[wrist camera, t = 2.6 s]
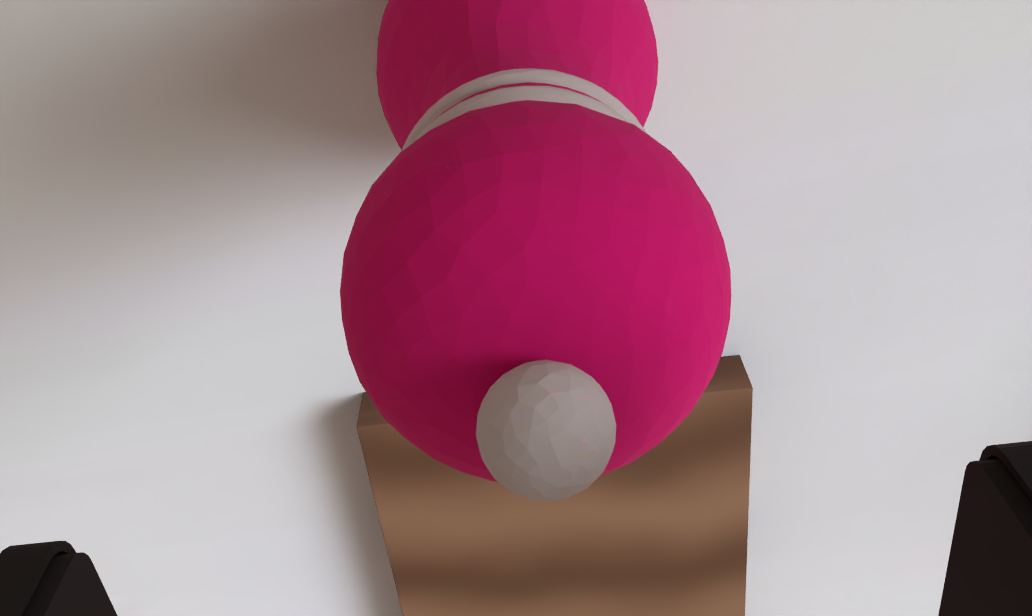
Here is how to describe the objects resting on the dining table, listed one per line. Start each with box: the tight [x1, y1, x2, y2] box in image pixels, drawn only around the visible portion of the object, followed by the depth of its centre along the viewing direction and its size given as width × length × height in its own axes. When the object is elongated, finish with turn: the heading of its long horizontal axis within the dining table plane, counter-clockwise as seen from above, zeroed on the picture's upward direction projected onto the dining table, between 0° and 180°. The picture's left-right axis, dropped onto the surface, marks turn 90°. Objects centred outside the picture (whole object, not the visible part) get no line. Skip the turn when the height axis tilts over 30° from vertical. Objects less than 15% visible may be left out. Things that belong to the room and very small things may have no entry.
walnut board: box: [357, 355, 753, 616], centre depth 38 cm, size 16×14×2 cm
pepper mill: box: [340, 0, 731, 501], centre depth 20 cm, size 7×7×20 cm
